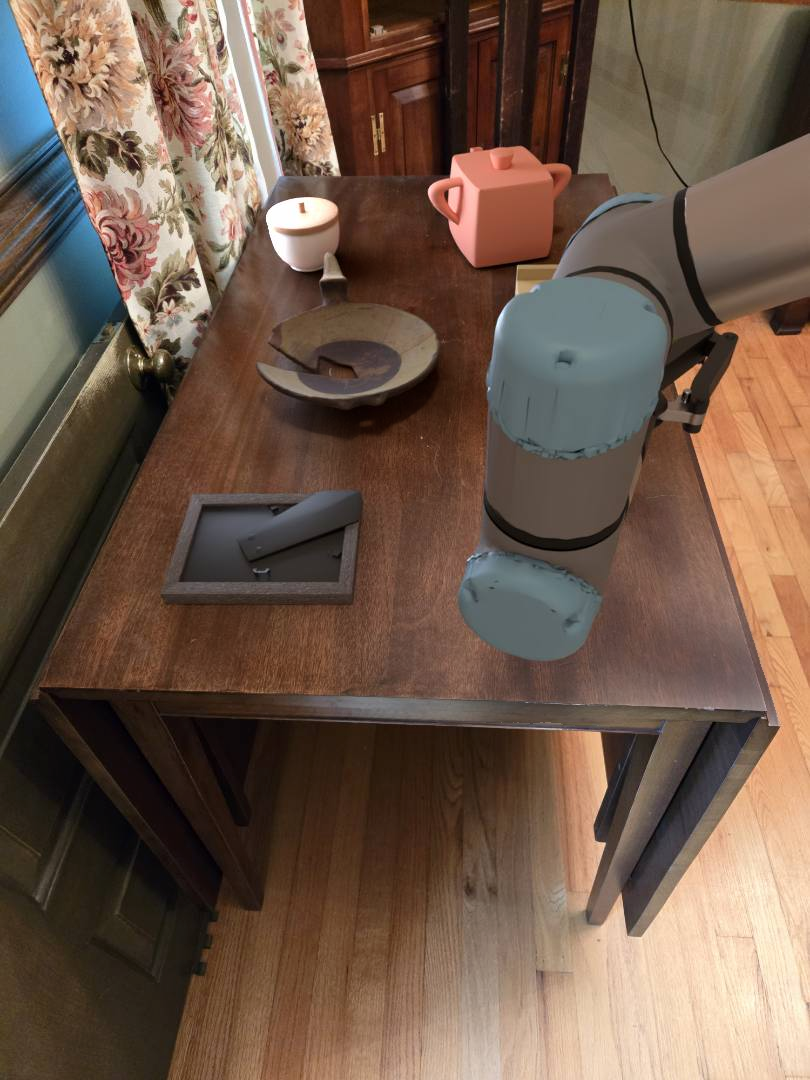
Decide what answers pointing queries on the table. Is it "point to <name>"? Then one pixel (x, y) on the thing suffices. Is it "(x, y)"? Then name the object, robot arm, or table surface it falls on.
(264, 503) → the picture frame
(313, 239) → the white lidded sugar bowl
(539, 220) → the pink ceramic boxy vessel
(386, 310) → the grey frying pan
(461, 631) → the table surface
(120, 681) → the table surface
